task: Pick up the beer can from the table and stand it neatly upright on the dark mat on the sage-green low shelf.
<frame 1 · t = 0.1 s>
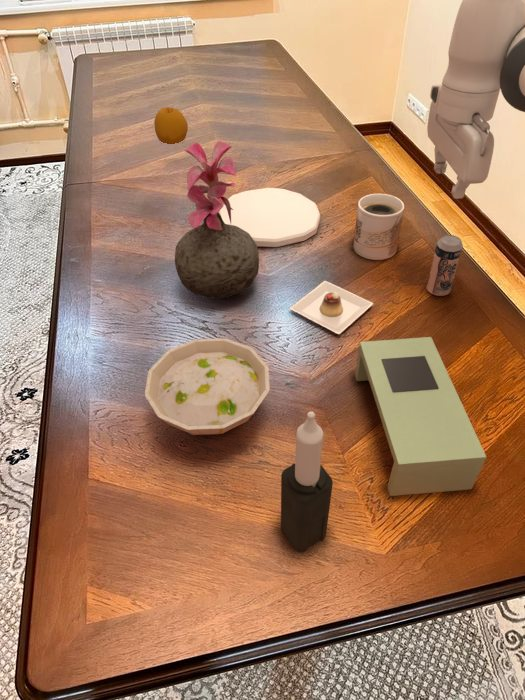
hand: (447, 183, 96), 23 cm above the table, tool pointing down, fingers open, 8 cm apart
decorative plate: (269, 220, 133), on the table
beer can: (437, 291, 111), on the table
dessert: (331, 311, 107), on the table
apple: (173, 147, 165), on the table
mug: (374, 246, 124), on the table
bowl: (212, 418, 88), on the table
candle: (303, 531, 73), on the table
shelf: (407, 426, 86), on the table
vase: (219, 287, 113), on the table
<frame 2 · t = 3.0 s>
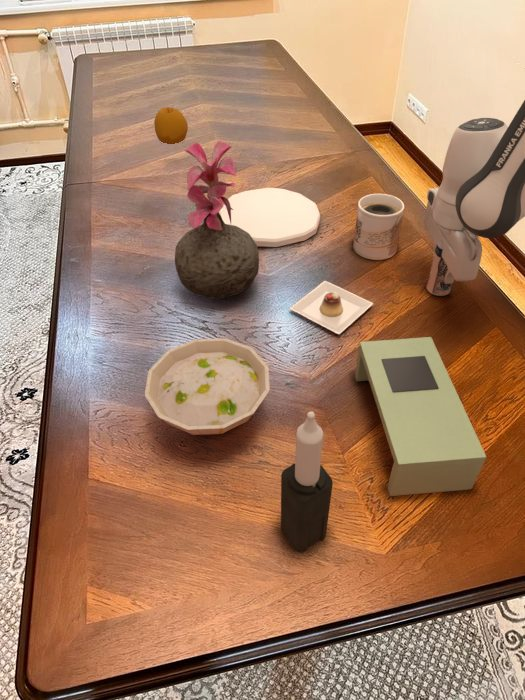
hand: (442, 272, 108), 5 cm above the table, tool pointing down, fingers closed on beer can, 5 cm apart
beer can: (437, 291, 111), on the table, touching gripper
everything else where it was.
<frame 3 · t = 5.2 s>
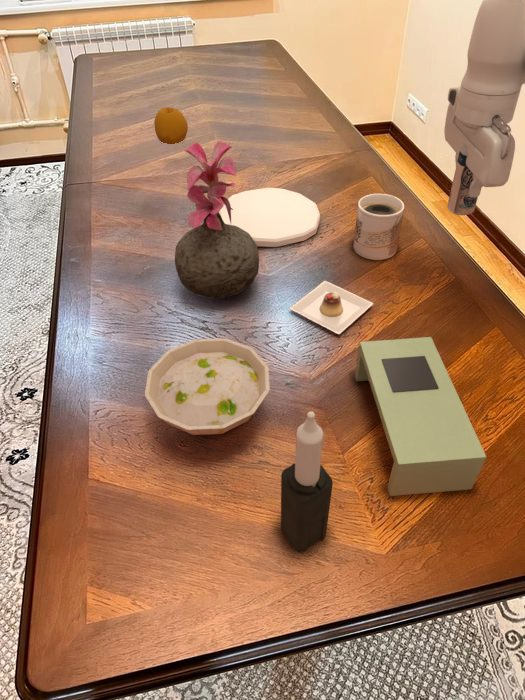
hand: (466, 187, 95), 23 cm above the table, tool pointing down, fingers closed on beer can, 5 cm apart
beer can: (460, 211, 98), point 18 cm above the table, touching gripper
everything else where it was.
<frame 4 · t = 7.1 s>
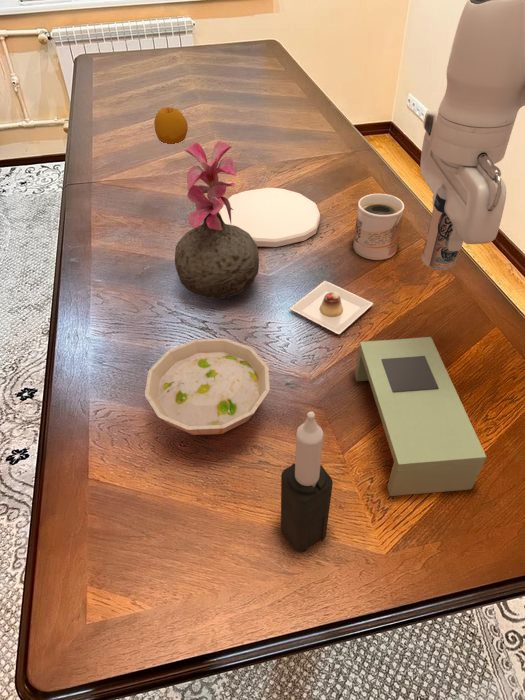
hand: (445, 236, 75), 27 cm above the table, tool pointing down, fingers closed on beer can, 5 cm apart
beer can: (437, 264, 79), point 23 cm above the table, touching gripper
everything else where it was.
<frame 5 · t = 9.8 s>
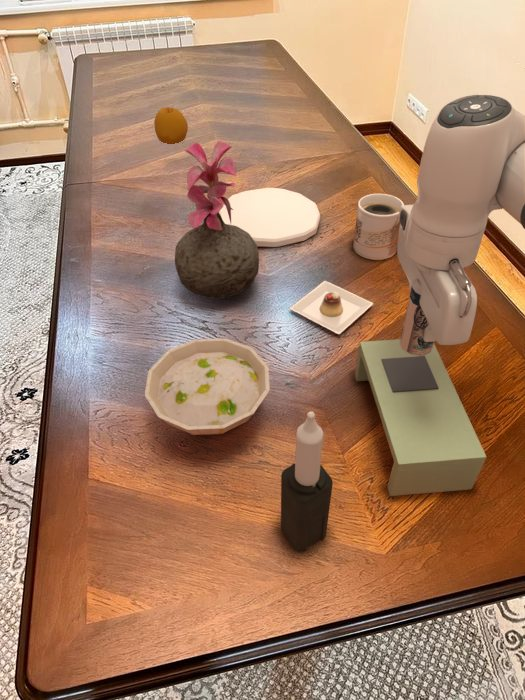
hand: (421, 323, 76), 18 cm above the table, tool pointing down, fingers closed on beer can, 5 cm apart
beer can: (415, 347, 79), point 14 cm above the table, touching gripper
everything else where it was.
when the fingers open (13 cm above the table, at t = 11.6 s): beer can stays where it is, resting on shelf.
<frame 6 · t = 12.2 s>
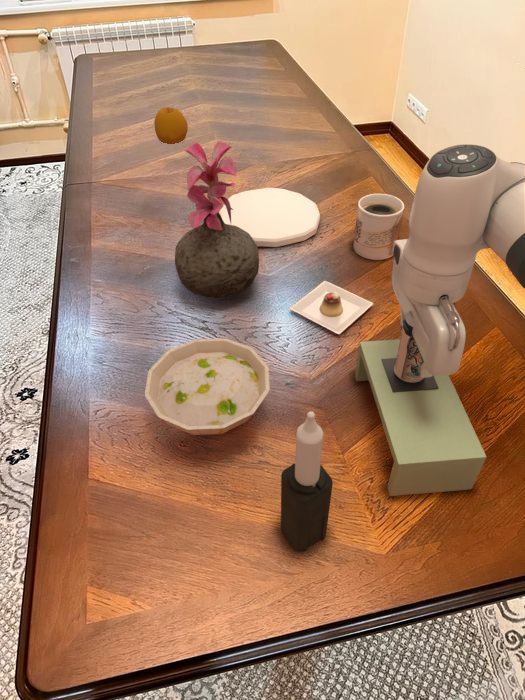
hand: (415, 351, 80), 13 cm above the table, tool pointing down, fingers open, 8 cm apart
beer can: (409, 374, 83), point 8 cm above the table, touching shelf
everything else where it was.
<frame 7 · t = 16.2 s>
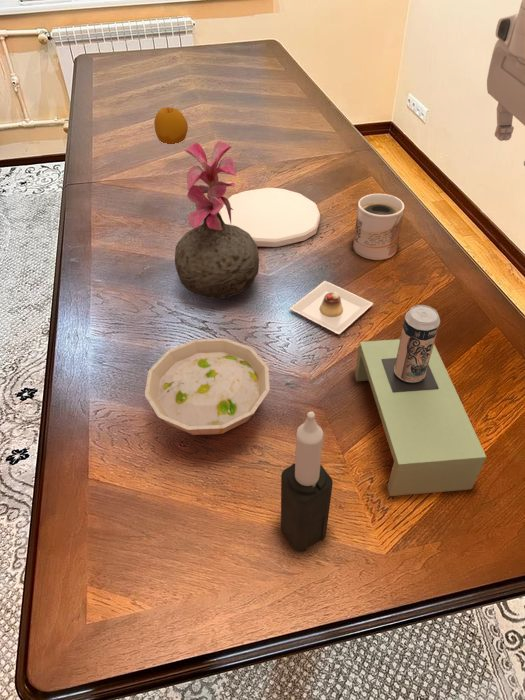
hand: (516, 152, 72), 37 cm above the table, tool pointing down, fingers open, 8 cm apart
nothing on the table moved.
at the end: beer can 0.0 cm from the target spot on the shelf, point 8.0 cm above the shelf's base; beer can tilted 0°; the gripper is holding nothing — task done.
